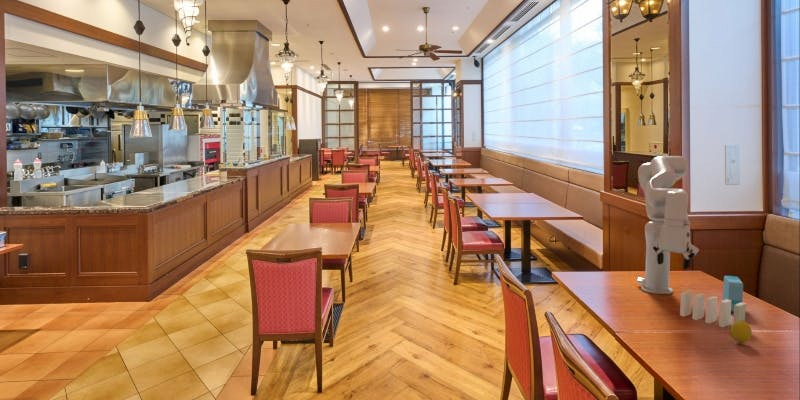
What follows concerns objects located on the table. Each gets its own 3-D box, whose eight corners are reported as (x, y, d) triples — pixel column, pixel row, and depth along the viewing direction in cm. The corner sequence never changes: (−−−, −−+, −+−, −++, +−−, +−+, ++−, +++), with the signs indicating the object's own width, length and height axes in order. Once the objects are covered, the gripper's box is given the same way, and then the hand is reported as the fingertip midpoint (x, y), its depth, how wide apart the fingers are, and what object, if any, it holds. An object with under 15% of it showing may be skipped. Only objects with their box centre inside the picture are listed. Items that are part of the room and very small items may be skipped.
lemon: (726, 340, 161) (727, 317, 160) (741, 340, 161) (743, 316, 161) (739, 347, 156) (740, 323, 155) (755, 346, 156) (756, 322, 155)
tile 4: (718, 326, 174) (720, 301, 173) (725, 323, 177) (726, 299, 176) (723, 327, 173) (725, 302, 172) (730, 324, 176) (731, 300, 175)
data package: (741, 313, 186) (743, 283, 185) (727, 312, 188) (729, 282, 187) (735, 304, 197) (737, 275, 196) (722, 303, 199) (723, 274, 198)
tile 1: (679, 315, 185) (681, 292, 184) (686, 312, 188) (687, 290, 187) (684, 316, 184) (685, 293, 183) (690, 314, 187) (691, 291, 186)
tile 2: (692, 318, 182) (693, 295, 181) (698, 316, 184) (700, 293, 183) (696, 320, 180) (698, 296, 179) (703, 317, 183) (704, 294, 182)
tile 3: (705, 322, 178) (706, 298, 177) (711, 319, 181) (713, 296, 180) (709, 323, 177) (711, 299, 176) (716, 320, 179) (717, 297, 178)
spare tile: (732, 329, 170) (734, 305, 169) (739, 326, 173) (740, 302, 172) (738, 331, 169) (739, 306, 168) (744, 328, 172) (745, 303, 171)
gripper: (704, 224, 182) (701, 269, 184) (657, 219, 196) (655, 260, 198) (695, 227, 178) (692, 272, 180) (647, 221, 191) (646, 263, 194)
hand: (673, 266), depth 189 cm, fingers open, 9 cm apart
